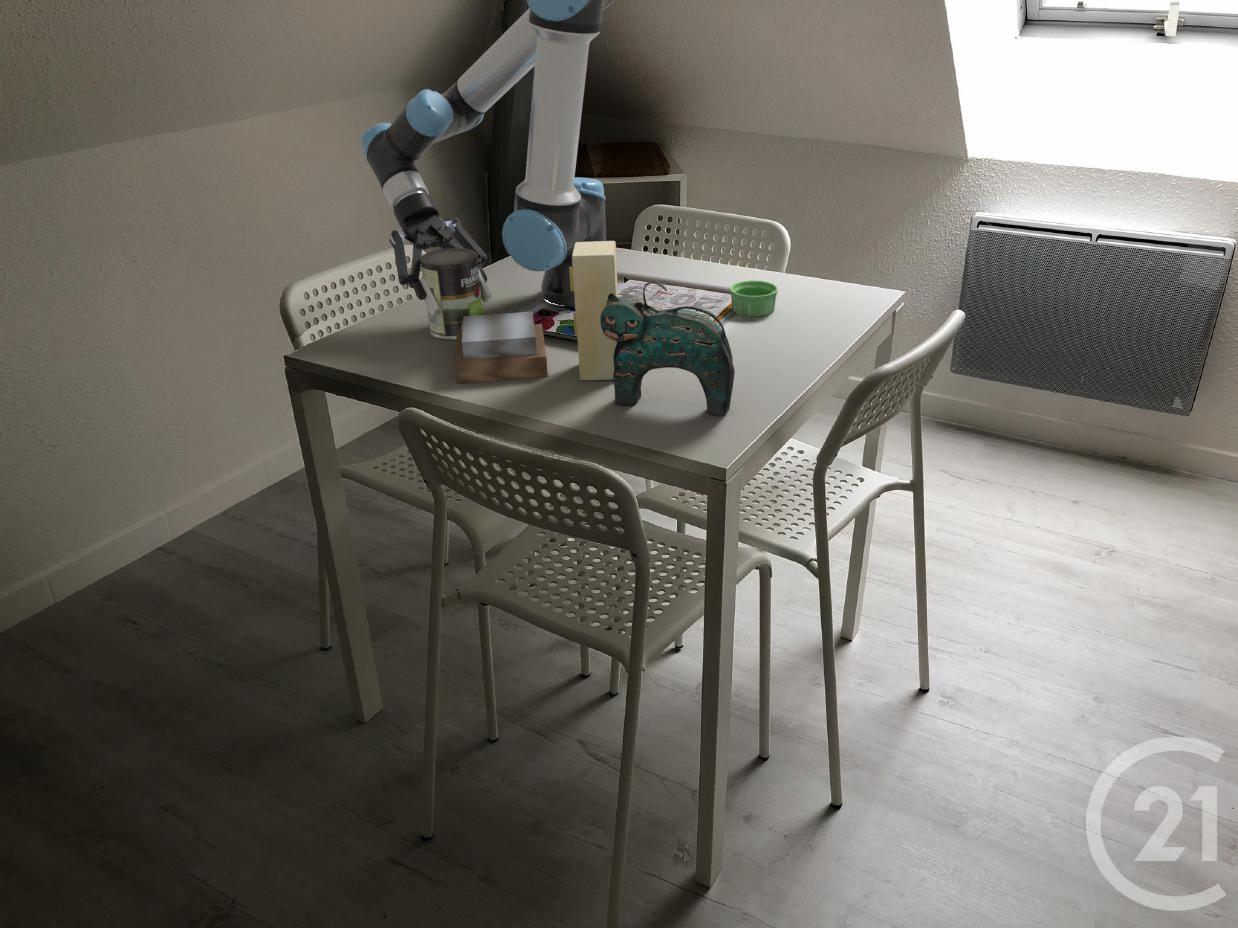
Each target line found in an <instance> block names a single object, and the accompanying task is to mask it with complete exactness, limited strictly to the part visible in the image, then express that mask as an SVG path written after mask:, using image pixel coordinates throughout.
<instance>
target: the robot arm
mask: <svg viewBox="0 0 1238 928" xmlns="http://www.w3.org/2000/svg"><path fill="white" fill-rule="evenodd" d="M526 2H527V4H528V7H529V8H528V9H527V10H526V11H525V12H524V13H523V14H522V15H521V16H520V17H518V19H517V20H516V21H515V22H514V23H513V24H512V25H511V26H510V27H509V28H508V29H507V30H506V31H504V33H502V34H501V36H500V37H499V38H498V39H497V40H496V41H495V42H494V43H493V44H492V45H491V46H489V48H488V49H487V50H486V51H485V52H484V53H483V54H482V55H481V56H479V58H478V59H477V60H476V61H475V62H474V63H473V64H472V65H471V66H470V67H469V68H468V69H467V70H466V71H465V72H464V73H463V74H462V75H461V76H460V77H459V78H458V80H457V81H456V82H454V83H453V84H452V86H450V87H449V88H448V89H447V90H446V91H445V92H443V93H441V94H440V93H439V92H438V91H436V90H434V91H433V90H431V89H429V88H427V89H423V90H420V91H419V92H418V93H417V94H416V95H415V96H414V97H413V98H412V99H410V100H409V102H408V103H407V104H406V107H404V109H403V110H402V111H401V112H400V114H399V115H398V116H397V117H396V118H395V119H394V120H393V122H392V123H389V122H380V123H377V124H374V125H373V126H372V127H371V128H368V129H366V131H364V133H363V135H362V137H361V141H360V143H361V147H362V149H363V153H364V155H365V158H366V161H367V163H368V165H369V166H370V168H371V169H372V171H373V173H374V175H375V176H376V177H375V178H376V179H377V181H378V183H379V185H380V187H381V189H382V192H383V195H384V196H385V198H386V200H387V202H388V205H389V206H390V208H391V210H393V214H394V216H395V217H394V218H395V219H396V221H397V223H398V225H399V227H400V228H401V229H402V230H400V231H398V230H392V231H391V234H390V237H389V238H388V241H389V243H390V245H391V246H392V248H393V252H394V257H395V265H396V270H397V277H398V283H399V285H401V286H405V285H408V287H409V288H411V289H413V290H414V293H415V294H416V297H417V299H418V300H420V301H422V300H423V301H424V302H425V305H426V307H428V309H429V312H430V314H431V316H432V317H434V316H436V315H437V313H438V311H439V307H438V305H437V303H436V300H435V298H434V296H433V294H432V292H431V290H430V288H429V286H428V284H427V282H426V280H425V278H423V277H422V278H421V277H420V276H421V275H420V274H421V263H420V257H421V256H422V255H423V251H424V250H425V251H426V250H428V249H430V248H437V247H439V248H440V249H449V248H463V249H470V250H473V251H475V252H476V253H477V255H478V259H477V261H478V271H479V279H480V290H481V299H482V303H483V304H485V303H488V302H489V300H490V298H491V297H492V292H491V291H490V289H489V286H488V285H487V281H488V276H487V275H486V273H485V270H484V269H483V266H484V265H485V264H486V261H487V259H488V254H486V253H485V251H484V250H483V248H481V246H479V244H478V243H477V242H476V241H475V240H474V239H473V238H472V236H471V235H470V234H469V233H468V232H467V230H465V228H464V226H463V225H462V223H461V221H460V218H458V217H457V216H455V217H453V219H451V220H448V221H445V220H444V219H443V218H441V216H440V213H439V210H438V208H437V206H436V204H435V202H434V200H433V199H432V196H431V195H430V192H429V190H428V188H427V186H426V184H425V182H424V180H423V178H422V176H421V174H420V172H419V170H418V168H417V165H416V163H417V161H418V160H419V159H420V158H421V157H422V156H423V155H424V154H425V153H426V152H427V151H428V149H430V148H431V146H433V145H435V143H438V142H440V141H442V140H446V139H449V138H450V137H452V136H455V135H459V134H460V133H464V132H468V131H471V130H472V129H474V128H475V127H477V126H478V125H479V124H480V123H481V122H482V121H483V119H484V116H485V113H486V112H487V111H488V110H489V109H490V108H492V106H494V105H495V104H496V102H497V101H499V100H500V99H501V98H502V97H503V96H504V95H506V93H507V92H508V91H509V90H511V89H512V88H513V87H514V85H516V84H517V83H518V82H519V81H520V80H521V79H522V78H523V77H524V76H525V75H526V74H528V73H529V71H531V70H532V69H533V84H532V92H531V93H532V94H531V95H532V96H531V105H530V106H531V108H530V116H529V117H530V119H529V120H530V121H529V129H528V142H527V153H526V154H527V155H526V165H525V166H526V167H525V175H524V176H525V178H524V180H523V181H522V182H521V183H519V184H518V185H517V186H516V187H515V194H514V195H515V196H514V206H513V207H514V208H513V212H512V213H511V214H509V215H508V216H507V218H506V220H505V221H504V223H503V227H502V233H501V234H502V235H501V237H502V242H503V245H504V248H505V250H506V252H507V254H508V255H509V256H510V257H511V258H512V259H513V261H514V262H515V263H516V264H518V265H519V266H520V267H522V268H523V269H526V270H528V271H530V272H531V271H532V272H544V273H543V277H542V281H541V285H540V286H541V287H540V288H541V290H540V291H541V298H542V297H543V298H544V299H546V300H548V301H549V302H551V303H555V304H558V305H564V306H575V296H574V291H571V287H570V272H569V267H571V266H572V254H573V250H574V246H575V243H576V242H595V241H607V233H606V232H607V230H606V229H607V227H606V226H607V225H606V196H605V190H604V189H605V188H604V184H603V183H602V182H601V181H600V180H598V179H595V178H591V177H575V175H576V166H577V157H578V149H579V140H580V130H581V123H582V122H581V120H582V114H583V113H582V112H583V105H584V104H583V103H584V95H585V87H586V86H585V85H586V77H587V75H586V74H587V69H588V68H587V66H588V59H589V57H588V56H589V51H590V49H589V48H590V43H591V41H593V40H594V39H595V38H596V37H598V35H599V34H600V33H601V26H602V20H603V19H602V17H603V11H605V10H606V9H607V8H608V7H610V6H611V5H612V4H613V3H614V2H616V0H526ZM446 230H448V231H449V232H447V231H446ZM452 235H453V236H454V238H455V239H456V240H457V241H456V240H455V239H454V238H453V236H452ZM405 240H407V241H408V242H410V243H411V244H412V245H413V246H412V259H411V267H410V268H411V269H410V273H409V270H408V262H407V258H406V250H405V245H404V241H405Z"/></svg>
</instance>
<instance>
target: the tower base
mask: <svg viewBox="0 0 1238 928" xmlns="http://www.w3.org/2000/svg"><path fill="white" fill-rule="evenodd" d="M547 360H548V359H547V351H546V344H545V339H544V329H543V324H542V323H537V324H535V323H534V313H533V311H520V312H509V313H508V312H507V313H506V312H505V313H494V314H493V313H492V314H491V313H490V314H483V315H478V316H464V317H463V330H457V335H456V340H455V351H454V372H455V378H456V383H457V384H466V383H478V382H481V383H482V382H492V381H504V380H506V381H507V380H515V379H517V380H518V379H529V378H541V377H543V378H544V377H548V376H549V374H548V361H547Z"/></svg>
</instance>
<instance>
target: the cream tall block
mask: <svg viewBox="0 0 1238 928" xmlns="http://www.w3.org/2000/svg"><path fill="white" fill-rule="evenodd" d="M616 244H617V243H616V241H615V240H606V241H595V242H576V243H575V246H574V250H573V254H572V266H571V267H569V272H570V287H571V291H574V296H575V307H574V310H575V312H573V327H574V336H575V337H577V352H578V353H577V354H578V365H579V366H578V367H579V379H580V381H610V380H611V381H612V380H613V373H614V359H613V356H614V351H615V347H616V344H617V341H614V340H612V339H610V338H608V337H607V336H605V335H604V333H603V330H602V327H601V321H600V317H601V313H602V311H603V310H604V308H605V306H606V304H607V299H608V295H609V294H610V293H613V294H615V295H616V296H617V297H619V290H618V286H619V285H618V270H617V269H618V266H617V265H618V264H617V245H616Z"/></svg>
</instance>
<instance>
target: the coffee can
mask: <svg viewBox="0 0 1238 928" xmlns="http://www.w3.org/2000/svg"><path fill="white" fill-rule="evenodd" d="M477 259H478V255H477V253H476V252H475V251H473V250H470V249H463V248H449V249H442V248H440V249H437V250H432V251H429V252H426V253H424V254H422V256H421V257H420V263H421V266H420V268H421V272H422V278H425V280H426V282H427V284H428V286H429V288H430V290H431V292H432V294H433V296H434V298H435V300H436V303H437V305H438V307H439V311H438V313H437V315H436V316H434V317H432V316H431V314H430V312H429V309H428V307H427V306H426V307H427V310H426V311H427V315H428V316H427V317H428V321H429V322H428V323H429V324H428V325H429V333H430V335H431V336H433V337H435V338H437V339H441V340H448V341H449V340H453V341H454V340H455V341H456V335H457V330H463V317H464V316H478V315H484V310H483V300H482V298H481V290H480V279H479V271H478V261H477Z"/></svg>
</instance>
